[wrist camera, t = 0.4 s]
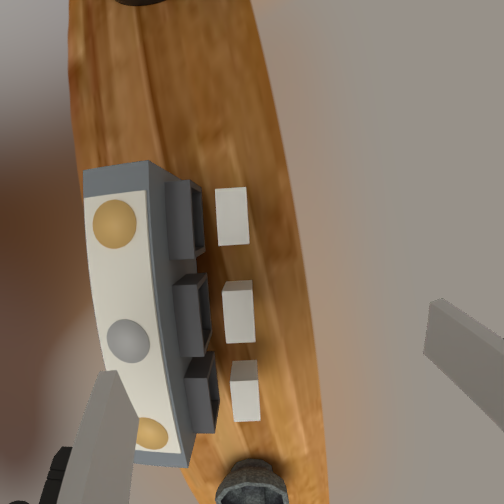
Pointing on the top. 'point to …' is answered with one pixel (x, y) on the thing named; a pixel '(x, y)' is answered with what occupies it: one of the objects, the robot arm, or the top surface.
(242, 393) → the button
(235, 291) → the button middle
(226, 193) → the button
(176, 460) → the button panel
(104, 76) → the top surface
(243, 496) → the mortar and pestle
